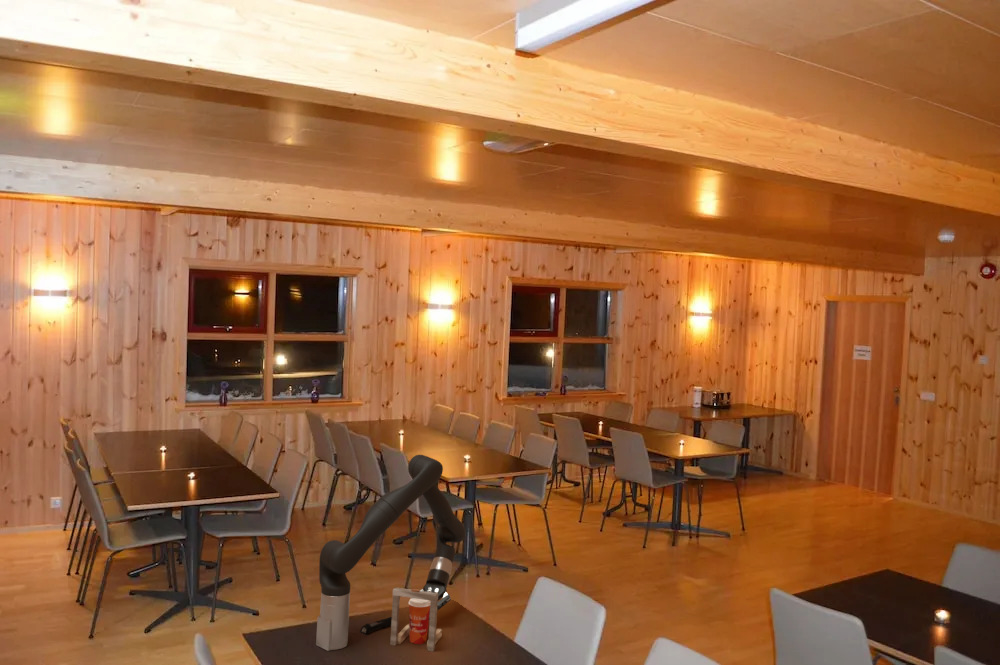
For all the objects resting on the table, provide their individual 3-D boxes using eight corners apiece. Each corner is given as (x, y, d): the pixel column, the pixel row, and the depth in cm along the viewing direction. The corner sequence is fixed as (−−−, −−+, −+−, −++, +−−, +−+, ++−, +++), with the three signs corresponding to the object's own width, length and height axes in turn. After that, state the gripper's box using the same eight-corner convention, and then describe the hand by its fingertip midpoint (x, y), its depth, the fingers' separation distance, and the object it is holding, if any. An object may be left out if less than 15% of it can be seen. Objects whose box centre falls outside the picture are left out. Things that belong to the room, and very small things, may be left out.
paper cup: (402, 643, 261) (404, 601, 260) (411, 634, 268) (414, 593, 268) (424, 647, 258) (426, 604, 258) (433, 638, 266) (435, 597, 265)
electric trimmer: (400, 625, 277) (401, 616, 277) (366, 636, 265) (366, 626, 265) (393, 622, 280) (394, 613, 280) (359, 632, 268) (359, 623, 268)
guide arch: (403, 630, 271) (406, 576, 271) (445, 637, 267) (448, 581, 267) (389, 645, 258) (392, 587, 258) (432, 652, 255) (435, 593, 255)
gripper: (420, 565, 281) (406, 611, 270) (455, 570, 278) (443, 616, 267) (424, 575, 287) (410, 621, 275) (459, 580, 284) (447, 626, 272)
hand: (426, 619), depth 271 cm, fingers closed
